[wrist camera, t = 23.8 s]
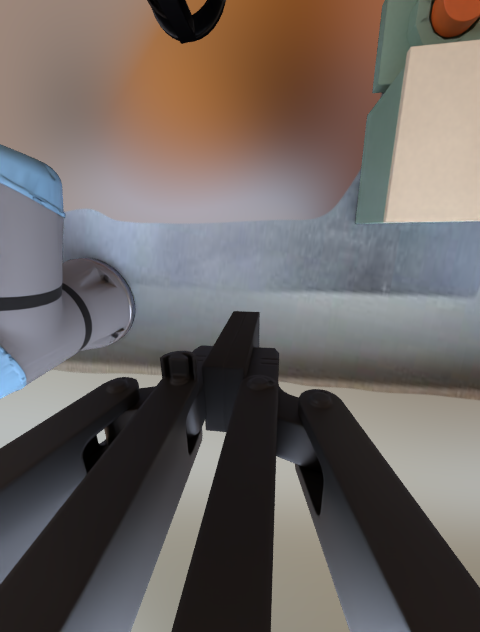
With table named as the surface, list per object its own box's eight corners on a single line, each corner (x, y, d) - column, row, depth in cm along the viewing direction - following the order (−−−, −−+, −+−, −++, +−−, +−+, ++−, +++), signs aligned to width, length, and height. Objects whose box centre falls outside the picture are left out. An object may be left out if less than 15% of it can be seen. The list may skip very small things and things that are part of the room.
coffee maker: (367, 115, 33) (404, 65, 23) (482, 106, 31) (578, 48, 21) (355, 223, 37) (382, 222, 27) (456, 222, 35) (527, 220, 25)
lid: (406, 52, 23) (410, 46, 22) (583, 34, 21) (594, 26, 20) (382, 222, 27) (385, 222, 26) (527, 220, 25) (535, 219, 24)
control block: (372, 93, 32) (384, 75, 28) (383, -2, 30) (397, -36, 26) (484, 84, 31) (512, 63, 27) (506, -18, 28) (541, -57, 24)
